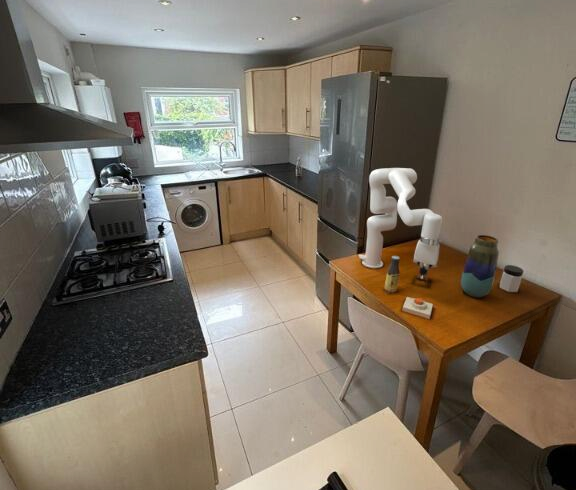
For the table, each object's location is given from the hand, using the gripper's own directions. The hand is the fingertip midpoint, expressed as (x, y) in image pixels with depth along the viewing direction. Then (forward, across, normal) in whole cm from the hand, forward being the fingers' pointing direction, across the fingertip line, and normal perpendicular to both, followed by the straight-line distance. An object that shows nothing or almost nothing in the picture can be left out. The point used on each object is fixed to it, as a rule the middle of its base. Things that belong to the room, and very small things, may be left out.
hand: (422, 274), depth 146 cm
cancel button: (+12, -1, +7) cm, 14 cm away
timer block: (+15, -1, +7) cm, 17 cm away
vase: (+15, -24, -24) cm, 37 cm away
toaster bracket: (+15, +2, -21) cm, 26 cm away
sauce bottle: (+15, +14, -2) cm, 21 cm away
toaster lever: (+8, +2, -18) cm, 20 cm away
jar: (+15, -39, -39) cm, 57 cm away
